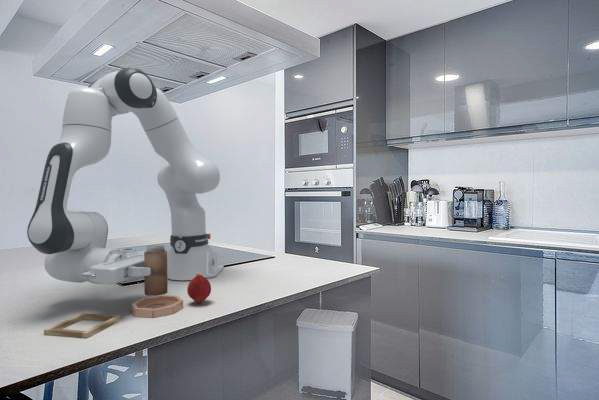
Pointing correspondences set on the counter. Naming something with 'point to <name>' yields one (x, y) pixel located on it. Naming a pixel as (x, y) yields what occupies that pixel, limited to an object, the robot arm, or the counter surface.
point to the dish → (157, 306)
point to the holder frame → (58, 330)
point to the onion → (199, 288)
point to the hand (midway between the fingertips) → (159, 268)
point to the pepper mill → (156, 270)
